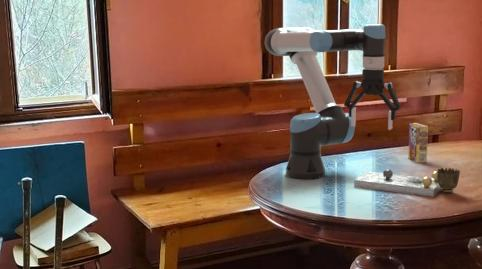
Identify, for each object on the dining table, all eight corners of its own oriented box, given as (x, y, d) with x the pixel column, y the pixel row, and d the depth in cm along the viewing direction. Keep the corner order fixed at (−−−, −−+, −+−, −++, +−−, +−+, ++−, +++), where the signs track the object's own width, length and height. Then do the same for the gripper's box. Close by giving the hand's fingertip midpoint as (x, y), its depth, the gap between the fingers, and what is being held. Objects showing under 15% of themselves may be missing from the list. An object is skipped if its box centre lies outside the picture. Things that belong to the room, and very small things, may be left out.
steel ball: (381, 179, 224) (381, 169, 223) (384, 176, 227) (384, 167, 226) (390, 180, 222) (391, 170, 221) (393, 178, 225) (394, 168, 224)
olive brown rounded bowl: (455, 197, 209) (456, 173, 207) (433, 194, 213) (434, 171, 211) (461, 191, 215) (462, 169, 214) (439, 188, 219) (440, 166, 217)
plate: (354, 186, 224) (354, 179, 224) (367, 177, 236) (367, 171, 235) (433, 196, 210) (433, 189, 209) (443, 186, 221) (443, 179, 221)
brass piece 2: (430, 181, 219) (430, 171, 219) (432, 179, 222) (433, 169, 222) (440, 182, 218) (440, 173, 217) (442, 180, 221) (442, 170, 220)
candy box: (427, 162, 258) (428, 126, 255) (418, 163, 257) (419, 126, 254) (417, 157, 266) (418, 122, 264) (407, 158, 266) (408, 123, 263)
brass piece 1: (420, 187, 212) (420, 177, 212) (422, 184, 215) (423, 175, 214) (430, 188, 210) (430, 178, 210) (432, 186, 213) (433, 176, 213)
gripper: (336, 68, 223) (335, 126, 228) (405, 70, 212) (403, 132, 216) (343, 66, 230) (342, 123, 234) (411, 68, 218) (408, 128, 222)
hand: (371, 127), depth 225 cm, fingers open, 13 cm apart
